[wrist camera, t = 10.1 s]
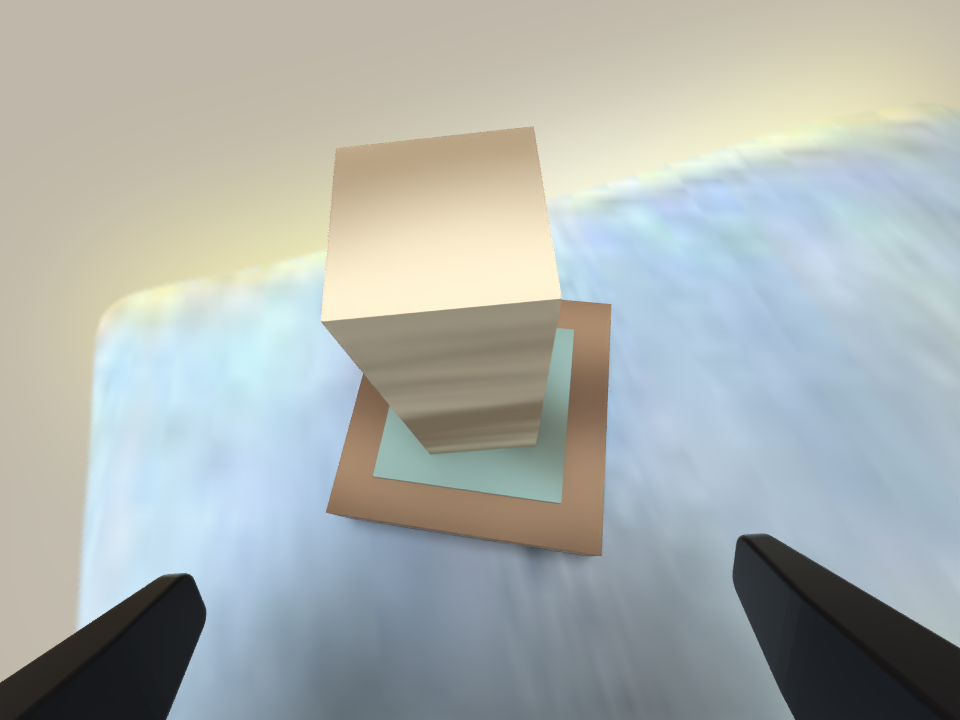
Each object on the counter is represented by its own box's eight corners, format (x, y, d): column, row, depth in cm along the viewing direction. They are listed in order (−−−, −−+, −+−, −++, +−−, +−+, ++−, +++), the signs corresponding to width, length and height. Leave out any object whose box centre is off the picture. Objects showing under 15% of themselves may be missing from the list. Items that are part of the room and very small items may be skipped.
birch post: (535, 445, 17) (562, 298, 7) (430, 454, 17) (320, 321, 8) (524, 349, 19) (533, 126, 9) (427, 358, 19) (335, 148, 9)
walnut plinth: (588, 556, 18) (602, 555, 15) (352, 518, 19) (323, 512, 17) (599, 335, 22) (612, 302, 19) (402, 316, 23) (386, 281, 20)
